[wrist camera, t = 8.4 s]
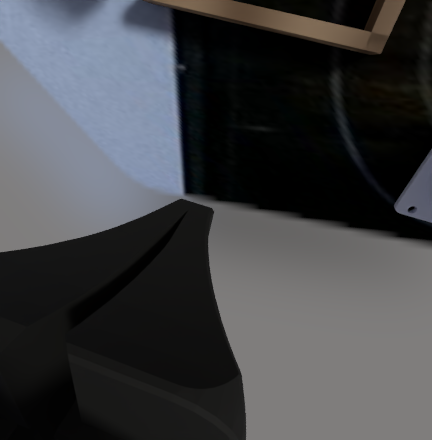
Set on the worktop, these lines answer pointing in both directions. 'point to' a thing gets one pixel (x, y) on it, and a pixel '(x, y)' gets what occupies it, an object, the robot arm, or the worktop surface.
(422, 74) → the worktop surface
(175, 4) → the wooden frame
